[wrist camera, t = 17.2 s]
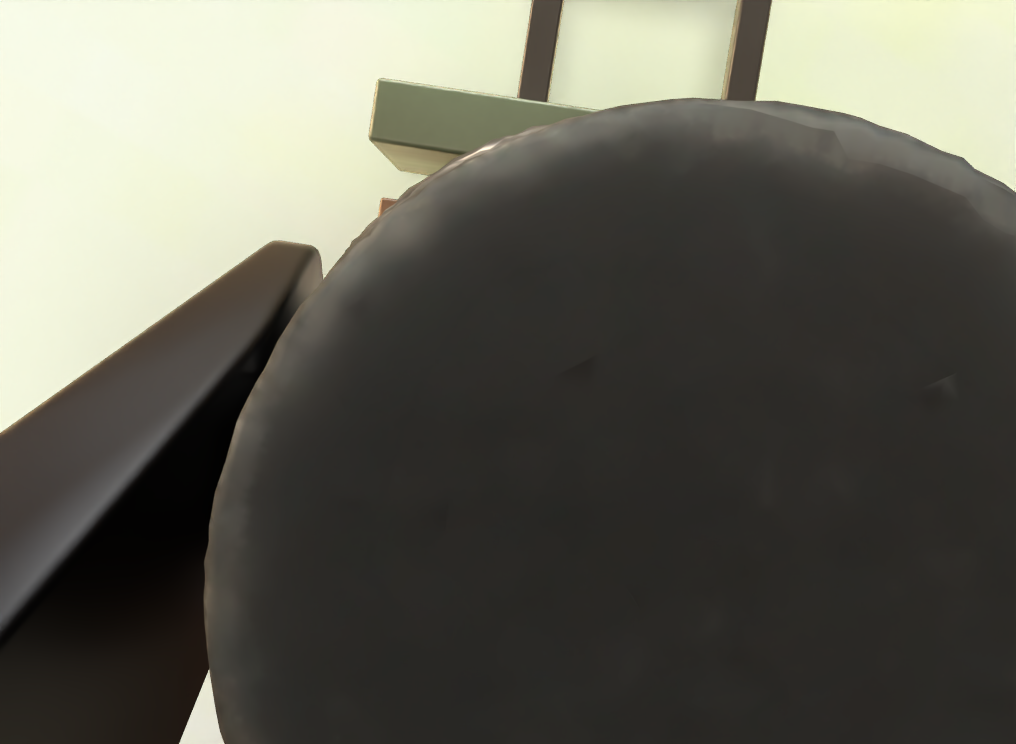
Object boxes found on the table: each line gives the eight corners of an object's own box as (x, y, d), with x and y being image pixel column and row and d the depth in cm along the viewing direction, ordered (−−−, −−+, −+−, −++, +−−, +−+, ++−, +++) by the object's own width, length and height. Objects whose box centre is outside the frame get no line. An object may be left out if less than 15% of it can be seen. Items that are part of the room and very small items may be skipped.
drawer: (432, -65, 21) (407, -145, 17) (874, -3, 20) (941, -71, 17) (336, 582, 21) (295, 630, 18) (759, 652, 21) (801, 717, 18)
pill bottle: (747, 633, 15) (1278, 1417, 4) (379, 573, 15) (-47, 1165, 4) (809, 257, 15) (1553, 26, 4) (433, 202, 15) (126, -166, 4)
